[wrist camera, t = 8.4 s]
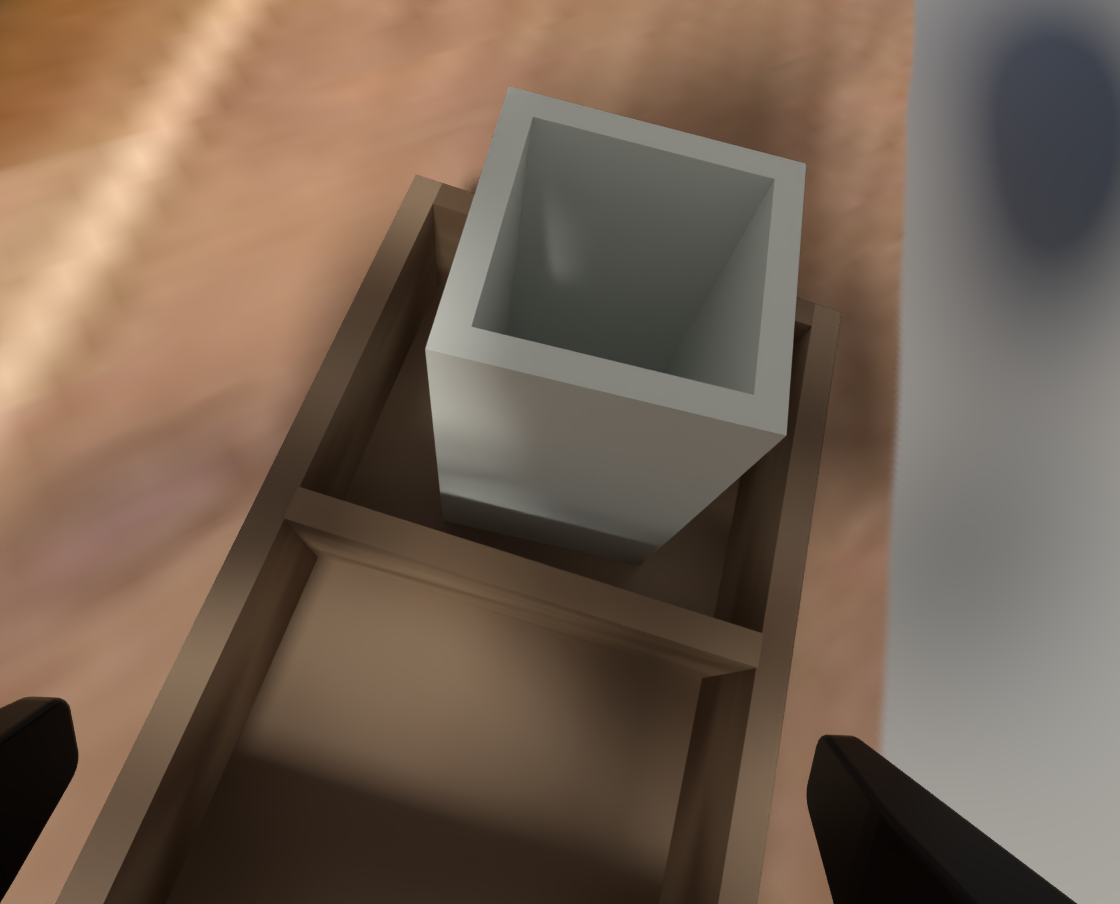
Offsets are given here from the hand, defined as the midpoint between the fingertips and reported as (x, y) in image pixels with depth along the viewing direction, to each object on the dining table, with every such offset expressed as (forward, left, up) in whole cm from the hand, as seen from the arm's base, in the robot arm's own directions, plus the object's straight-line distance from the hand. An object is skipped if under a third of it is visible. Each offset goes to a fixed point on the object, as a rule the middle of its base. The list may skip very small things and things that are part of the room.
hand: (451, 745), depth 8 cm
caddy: (+9, 0, -11) cm, 14 cm away
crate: (+4, 0, -11) cm, 12 cm away
